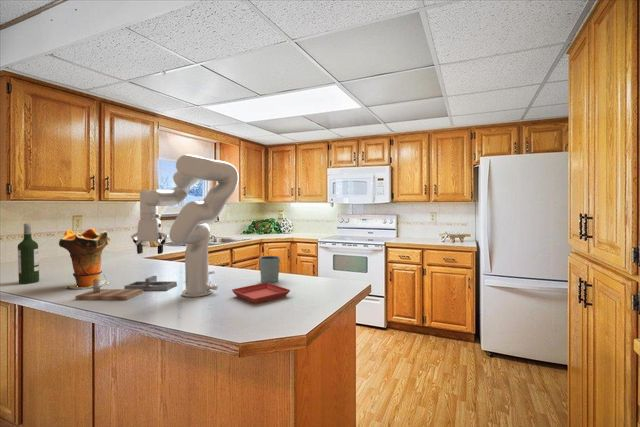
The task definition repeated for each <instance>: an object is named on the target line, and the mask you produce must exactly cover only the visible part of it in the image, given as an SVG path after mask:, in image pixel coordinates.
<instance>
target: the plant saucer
mask: <svg viewBox="0 0 640 427" xmlns="http://www.w3.org/2000/svg"><path fill="white" fill-rule="evenodd" d="M231 291H232V293H233V294H234V295H235V296H236V297H238V298H240V299H243V300H245V301H247V302H249V303H252V304H256V305H257V304H261V303H264V302H268V301H272V300H277V299H281V298H285V297H286V296H287V295H288V294H289V293H290V292H291V289H289V288H285V287H282V286H279V285H276V284H273V283H263V282H261V283H257V284H252V285H247V286H243V287H237V288H236V287H235V288H232V289H231Z"/></svg>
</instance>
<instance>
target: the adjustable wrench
mask: <svg viewBox="0 0 640 427" xmlns="http://www.w3.org/2000/svg"><path fill="white" fill-rule="evenodd" d="M208 271H209V275H212V274H215V273H216V270H214V269H212V270H208Z"/></svg>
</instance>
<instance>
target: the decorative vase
mask: <svg viewBox="0 0 640 427" xmlns="http://www.w3.org/2000/svg"><path fill="white" fill-rule="evenodd" d="M110 242H111V238H110V236H109V235H108V232H107V231H106V230H104V231H102V232H100V233H97V231H96V229H95V228H94V227H93V228H88V229H86V230H85V231H84V232H81V233H80V232H79V233H78V232H76V233H75V232H74V231H73V230H71V229H67V230H66V231H65V233H64V235H63V236H62V238H60V239H59V241H58V246H59V247H60V248H62V249H64V250H66V251H68V252H69V257H70V258H71V265H72V270H73V273H72V275H73V277H74V279H75V283H72V284H69V285H66V286H65V287H64V288H65V289H72V290H85V289H93V280H94V279H95V278H98V279H99V280H100V277H101V273H103V271H102V270H101V268H102V254H103V250H104V249H105V247H106V246H108V245H109V244H110ZM103 276H104V277H105V278H106V276H105V275H103ZM106 281H107V280H100V282H102V283H101V284H100V287H101V286H106V285H108V284H110V282H109V281H108V282H106ZM77 286H78V287H77Z"/></svg>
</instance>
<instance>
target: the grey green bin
mask: <svg viewBox="0 0 640 427" xmlns="http://www.w3.org/2000/svg"><path fill="white" fill-rule="evenodd" d="M280 259H281V257H280V256H278V255H264V256H260V257H259V269H260V272H259V273H260V282H261V283H270V284H273V283H277V282H278V281H279V274H280V272H279V271H280V263H281V260H280Z"/></svg>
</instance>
